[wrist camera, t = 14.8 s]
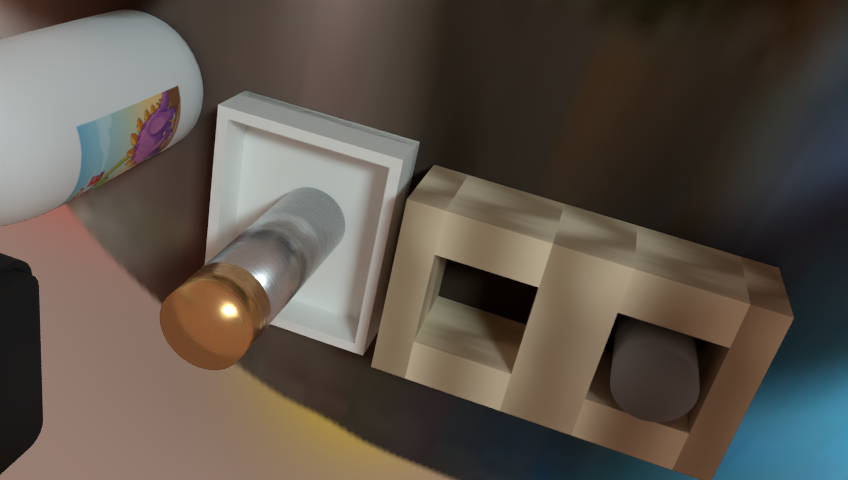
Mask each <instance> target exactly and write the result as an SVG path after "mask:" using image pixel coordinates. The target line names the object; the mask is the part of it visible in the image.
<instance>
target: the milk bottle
mask: <svg viewBox="0 0 848 480" xmlns="http://www.w3.org/2000/svg"><path fill="white" fill-rule="evenodd" d="M203 95H204V90H203V79H202V75H201V71H200V67H199V65H198V63H197V60H196V58H195V56H194V53H193V52H192V50H191V49H190V47H189V46H188V44H187V43H186V41H185V40H184V39H183V38H182V37H181V36H180V35H179V34H178V32H177V31H175V30H174V29H173V28H171V27H170V26H169V25H168V24H167V23H165V22H163V21H161V20H159V19H158V18H156V17H154V16H152V15H150V14H147V13H144V12H140V11H136V10H118V11H112V12H107V13H102V14H98V15H94V16H90V17H86V18H82V19H78V20H74V21H70V22H66V23H62V24H58V25H54V26H50V27H46V28H42V29H38V30H34V31H30V32H26V33H22V34H18V35H15V36H11V37H7V38H3V39H0V226H5V225H10V224H14V223H18V222H22V221H26V220H29V219H31V218H34V217H37V216H39V215H42V214H45V213H47V212H49V211H51V210H53V209H55V208H57V207H59V206H61V205H64V204H66V203H68V202H70V201H72V200H74V199H75V198H77V197H79V196H81V195H83V194H85V193H87V192H89V191H90V190H92V189H94V188H96V187H98V186H100V185H102V184H103V183H105V182H107V181H109V180H111V179H113V178H115V177H116V176H118V175H120V174H122V173H124V172H126V171H127V170H129V169H131V168H133V167H135V166H136V165H138V164H140V163H142V162H144V161H146V160H147V159H149V158H151V157H153V156H155V155H156V154H158V153H160V152H162V151H164V150H165V149H167V148H169V147H171V146H172V145H174V144H175V143H177V142H179V141H180V140H182V139H183V138H184V137H185V136H187V135H188V134H189V132H190V131H191V130H192V129H193V127H194V126H195V124H196V122H197V120H198V118H199V115H200V112H201V108H202V105H203Z"/></svg>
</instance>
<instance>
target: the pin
mask: <svg viewBox="0 0 848 480" xmlns="http://www.w3.org/2000/svg"><path fill="white" fill-rule="evenodd" d="M344 233H345V218H344V215H343V212H342V210H341V208H340V207H339V205H338V204H337V202H336V201H335V200H334V199H333V198H332V197H331V196H329V195H328V194H327V193H325V192H323V191H321V190H319V189H316V188H311V187H301V188H297V189H294V190H292V191H291V192H289V193H288V194H287V195H285V196H284V197H283V198H282V199H281V200H280V201H278V202H277V203H276V204H275V205H274V206H273V207H271V208H270V209H269V210H268V211H267V212H266V213H264V214H263V215H262V216H261V217H260V218H259V219H257V220H256V221H255V222H254V223H253V224H252V225H251V226H249V227H248V228H247V229H246V230H245V231H244V232H242V233H241V234H240V235H239V236H238V237H237V238H235V239H234V240H233V241H232V242H231V243H230V244H228V245H227V246H226V247H225V248H224V249H223V250H221V251H220V252H219V253H218V254H217V255H216V256H214V257H213V258H212V259H211V260H210V261H209V262H207V263H206V264H205V265H204V266H203V267H202V268H200V269H199V270H198V271H197V272H196V273H195V274H194V275H192V276H191V277H190V278H189V279H188V280H187V281H185V282H184V283H183V284H182V285H181V286H180V287H178V288H177V289H176V290H175V291H174V292H173V293H171V294H170V295H169V296H168V297H167V298H166V300H165V301H164V303H163V305H162V307H161V311H160V324H161V328H162V331H163V334H164V336H165V338H166V340H167V342H168V343H169V345H170V346H171V347H172V348H173V350H174V351H175V352H176V353H177V354H178V355H179V356H181V357H182V358H183V359H184V360H186V361H187V362H189V363H191V364H193V365H195V366H197V367H200V368H204V369H208V370H221V369H225V368H228V367H230V366H232V365H234V364H235V363H236V362H237V361H238V360H239V359H240V358H241V357H242V355H243V354H244V353H245V352H246V351H247V350H248V348H249V347H250V346H251V345H252V344H253V343H254V342H255V340H256V339H257V338H258V337H259V336H260V335H261V333H262V332H263V331H264V330H265V329H266V328H267V327H268V325H269V324H270V323H271V322H272V321H273V320H274V318H275V317H276V316H277V315H278V314H279V313H280V312H281V310H282V309H283V308H284V307H285V306H286V305H287V303H288V302H289V301H290V300H291V299H292V298H293V297H294V295H295V294H296V293H297V292H298V291H299V290H300V288H301V287H302V286H303V285H304V284H305V283H306V282H307V280H308V279H309V278H310V277H311V276H312V275H313V273H314V272H315V271H316V270H317V269H318V268H319V267H320V265H321V264H322V263H323V262H324V261H325V260H326V258H327V257H328V256H329V255H330V254H331V253H332V252H333V250H334V249H335V248H336V247H337V246H338V245H339V243H340V242H341V241H342V239H343V236H344Z"/></svg>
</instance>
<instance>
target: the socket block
mask: <svg viewBox="0 0 848 480" xmlns="http://www.w3.org/2000/svg"><path fill="white" fill-rule="evenodd" d="M447 259H450V260H453V261H456V262H459V263H462V264H466V265H469V266H472V267H475V268H478V269H481V270H485V271H488V272H491V273H494V274H497V275H500V276H504V277H507V278H510V279H513V280H516V281H519V282H522V283H526V284H529V285H532V286H535V287H538V289H537V292H536V295H535V298H534V302H533V305H532V308H531V311H530V314H529V317H528V320H527V323H526V324H523V323H520V322H517V321H514V320H511V319H508V318H505V317H501V316H498V315H495V314H492V313H489V312H486V311H483V310H480V309H477V308H474V307H471V306H468V305H464V304H461V303H458V302H455V301H452V300H449V299H446V298H443V297H440V296H438V294H439V290H440V286H441V282H442V278H443V274H444V270H445V266H446V262H447ZM616 316H617V317H616ZM615 319H616V327H615V337H614V347H613V353H612V352H609V351H606V350H604V348H605V345H606V342H607V340H608V337H609V335H610V332H611V329H612V327H613V324H614V321H615ZM793 319H794V316H793V313H792V309H791V306H790V303H789V299H788V296H787V293H786V289H785V286H784V283H783V279H782V276H781V273H780V269H779V268H777V267H774V266H771V265H767V264H764V263H761V262H757V261H754V260H751V259H747V258H744V257H741V256H737V255H734V254H731V253H727V252H724V251H721V250H717V249H714V248H711V247H707V246H704V245H701V244H697V243H694V242H691V241H687V240H684V239H680V238H677V237H674V236H670V235H667V234H664V233H660V232H657V231H654V230H650V229H647V228H644V227H640V226H637V225H634V224H630V223H627V222H624V221H620V220H617V219H614V218H610V217H607V216H604V215H600V214H597V213H593V212H590V211H587V210H583V209H580V208H577V207H573V206H570V205H567V204H563V203H560V202H557V201H553V200H550V199H547V198H543V197H540V196H537V195H533V194H530V193H527V192H523V191H520V190H517V189H513V188H510V187H506V186H503V185H500V184H496V183H493V182H490V181H486V180H483V179H480V178H476V177H473V176H470V175H466V174H463V173H460V172H456V171H453V170H450V169H446V168H443V167H440V166H436V165H433V167H432V168H431V169H430V170H429V172H428V173H427V174H426V175H425V177H424V178H423V179H422V181H421V182H420V183H419V184H418V186H417V187H416V188H415V189H414V191H413V192H412V193H411V195H410V196H409V197H408V198H407V202H406V206H405V211H404V216H403V220H402V225H401V230H400V234H399V239H398V244H397V248H396V253H395V258H394V262H393V267H392V272H391V276H390V281H389V286H388V290H387V295H386V300H385V304H384V309H383V314H382V318H381V323H380V328H379V332H378V337H377V342H376V346H375V351H374V356H373V360H372V365H371V367H373V368H376V369H379V370H382V371H385V372H388V373H391V374H394V375H397V376H399V377H402V378H405V379H408V380H411V381H414V382H417V383H420V384H423V385H426V386H429V387H432V388H434V389H437V390H440V391H443V392H446V393H449V394H452V395H455V396H458V397H461V398H464V399H467V400H469V401H472V402H475V403H478V404H481V405H484V406H487V407H490V408H493V409H496V410H499V411H502V412H504V413H507V414H510V415H513V416H516V417H519V418H522V419H525V420H528V421H531V422H534V423H537V424H539V425H542V426H545V427H548V428H551V429H554V430H557V431H560V432H563V433H566V434H569V435H572V436H574V437H577V438H580V439H583V440H586V441H589V442H592V443H595V444H598V445H601V446H604V447H607V448H609V449H612V450H615V451H618V452H621V453H624V454H627V455H630V456H633V457H636V458H639V459H642V460H644V461H647V462H650V463H653V464H656V465H659V466H662V467H665V468H668V469H671V470H674V471H676V472H679V473H682V474H685V475H688V476H691V477H694V478H697V479H700V480H712V478H713V476H714V474H715V472H716V470H717V468H718V466H719V464H720V462H721V460H722V459H723V457H724V455H725V453H726V451H727V449H728V447H729V445H730V443H731V441H732V439H733V437H734V435H735V433H736V431H737V429H738V427H739V425H740V423H741V421H742V419H743V417H744V415H745V413H746V411H747V409H748V407H749V405H750V404H751V402H752V400H753V398H754V396H755V394H756V392H757V390H758V388H759V386H760V384H761V382H762V380H763V378H764V376H765V374H766V372H767V370H768V368H769V366H770V364H771V362H772V360H773V358H774V356H775V354H776V352H777V351H778V349H779V347H780V345H781V343H782V341H783V339H784V337H785V335H786V333H787V331H788V329H789V327H790V325H791V323H792V321H793ZM696 338H699V339H703V341H702V343H701V345H700V347H699V349H698V352H697V344H696Z"/></svg>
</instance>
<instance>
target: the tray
mask: <svg viewBox="0 0 848 480" xmlns="http://www.w3.org/2000/svg"><path fill="white" fill-rule="evenodd" d="M419 143H420V142H418V141H415V140H411V139H408V138H404V137H401V136H398V135H394V134H391V133H388V132H384V131H381V130H377V129H374V128H371V127H367V126H364V125H360V124H357V123H354V122H350V121H347V120H344V119H340V118H337V117H333V116H330V115H327V114H323V113H320V112H316V111H313V110H310V109H306V108H303V107H299V106H296V105H293V104H289V103H286V102H283V101H279V100H276V99H272V98H269V97H266V96H262V95H259V94H255V93H252V92H249V91H244V92H242V93H240V94H238V95H236V96H234V97H232V98H230V99H228V100H226V101H224V102H222V103H221V104H219V105H218V113H217V125H216V137H215V149H214V160H213V172H212V184H211V196H210V208H209V220H208V232H207V244H206V256H205V264H206V263H207V262H209V261H210V260H211V259H212V258H213V257H214V256H216V255H217V254H218V253H219V252H220V251H221V250H223V249H224V248H225V247H226V246H227V245H228V244H230V243H231V242H232V241H233V240H234V239H235V238H237V237H238V236H239V235H240V234H241V233H242V232H244V231H245V230H246V229H247V228H248V227H249V226H251V225H252V224H253V223H254V222H255V221H256V220H257V219H259V218H260V217H261V216H262V215H263V214H264V213H266V212H267V211H268V210H269V209H270V208H271V207H273V206H274V205H275V204H276V203H277V202H278V201H280V200H281V199H282V198H283V197H284V196H285V195H287V194H288V193H289V192H291V191H292V190H294V189H297V188H301V187H311V188H316V189H319V190H321V191H323V192H325V193H327V194H328V195H329V196H331V197H332V198H333V199H334V200H335V201H336V202H337V204H338V205H339V207H340V208H341V210H342V212H343V215H344V218H345V233H344V236H343V239H342V241H341V242H340V243H339V245H338V246H337V247H336V248H335V249H334V250H333V252H332V253H331V254H330V255H329V256H328V257H327V258H326V260H325V261H324V262H323V263H322V264H321V265H320V267H319V268H318V269H317V270H316V271H315V272H314V273H313V275H312V276H311V277H310V278H309V279H308V280H307V282H306V283H305V284H304V285H303V286H302V287H301V288H300V290H299V291H298V292H297V293H296V294H295V295H294V297H293V298H292V299H291V300H290V301H289V302H288V303H287V305H286V306H285V307H284V308H283V309H282V310H281V312H280V313H279V314H278V315H277V316H276V317H275V318H274V320H273V321H272V322H271V323H270V324H272V325H275V326H278V327H281V328H283V329H286V330H289V331H292V332H295V333H298V334H301V335H304V336H307V337H310V338H313V339H316V340H319V341H322V342H325V343H327V344H330V345H333V346H336V347H339V348H342V349H345V350H348V351H351V352H354V353H357V354H360V355H364V353H365V352H366V350H367V348H368V347H369V345H370V343H371V342H372V340H373V339H374V337H375V335H376V334H377V332H378V331H379V328H380V323H381V318H382V314H383V309H384V304H385V300H386V295H387V290H388V286H389V281H390V276H391V272H392V267H393V262H394V258H395V253H396V248H397V244H398V239H399V234H400V230H401V225H402V220H403V216H404V211H405V206H406V202H407V198H408V194H409V190H410V185H411V180H412V176H413V171H414V166H415V162H416V157H417V152H418V148H419Z"/></svg>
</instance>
